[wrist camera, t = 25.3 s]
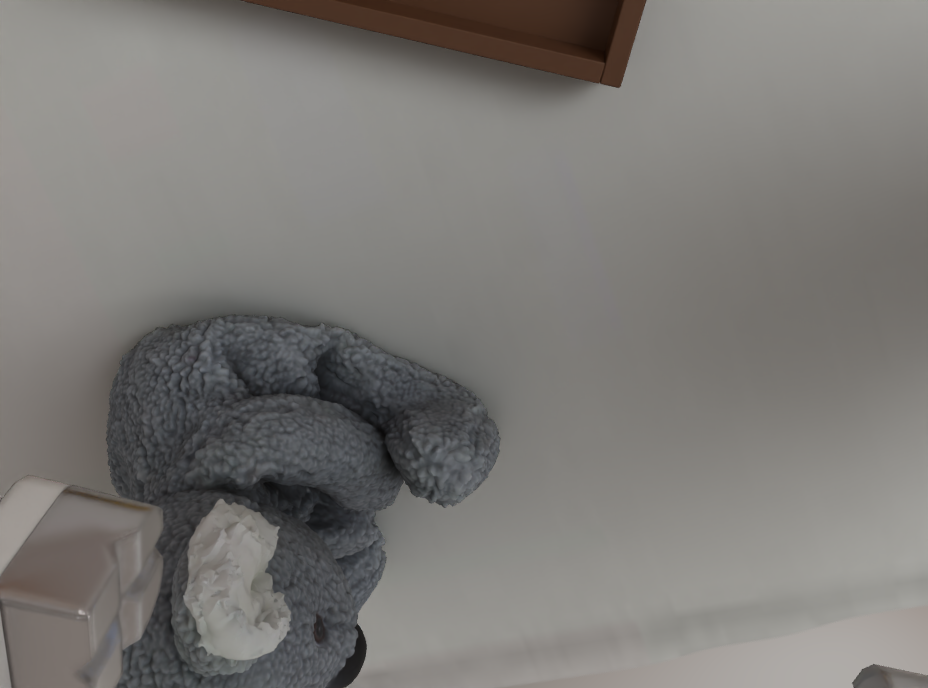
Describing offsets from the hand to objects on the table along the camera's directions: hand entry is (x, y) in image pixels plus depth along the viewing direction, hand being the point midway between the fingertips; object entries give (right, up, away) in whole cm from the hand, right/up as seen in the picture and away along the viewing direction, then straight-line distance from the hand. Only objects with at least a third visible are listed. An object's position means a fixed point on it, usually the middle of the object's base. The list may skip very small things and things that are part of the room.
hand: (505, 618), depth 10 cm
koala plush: (-9, -1, +37) cm, 38 cm away
